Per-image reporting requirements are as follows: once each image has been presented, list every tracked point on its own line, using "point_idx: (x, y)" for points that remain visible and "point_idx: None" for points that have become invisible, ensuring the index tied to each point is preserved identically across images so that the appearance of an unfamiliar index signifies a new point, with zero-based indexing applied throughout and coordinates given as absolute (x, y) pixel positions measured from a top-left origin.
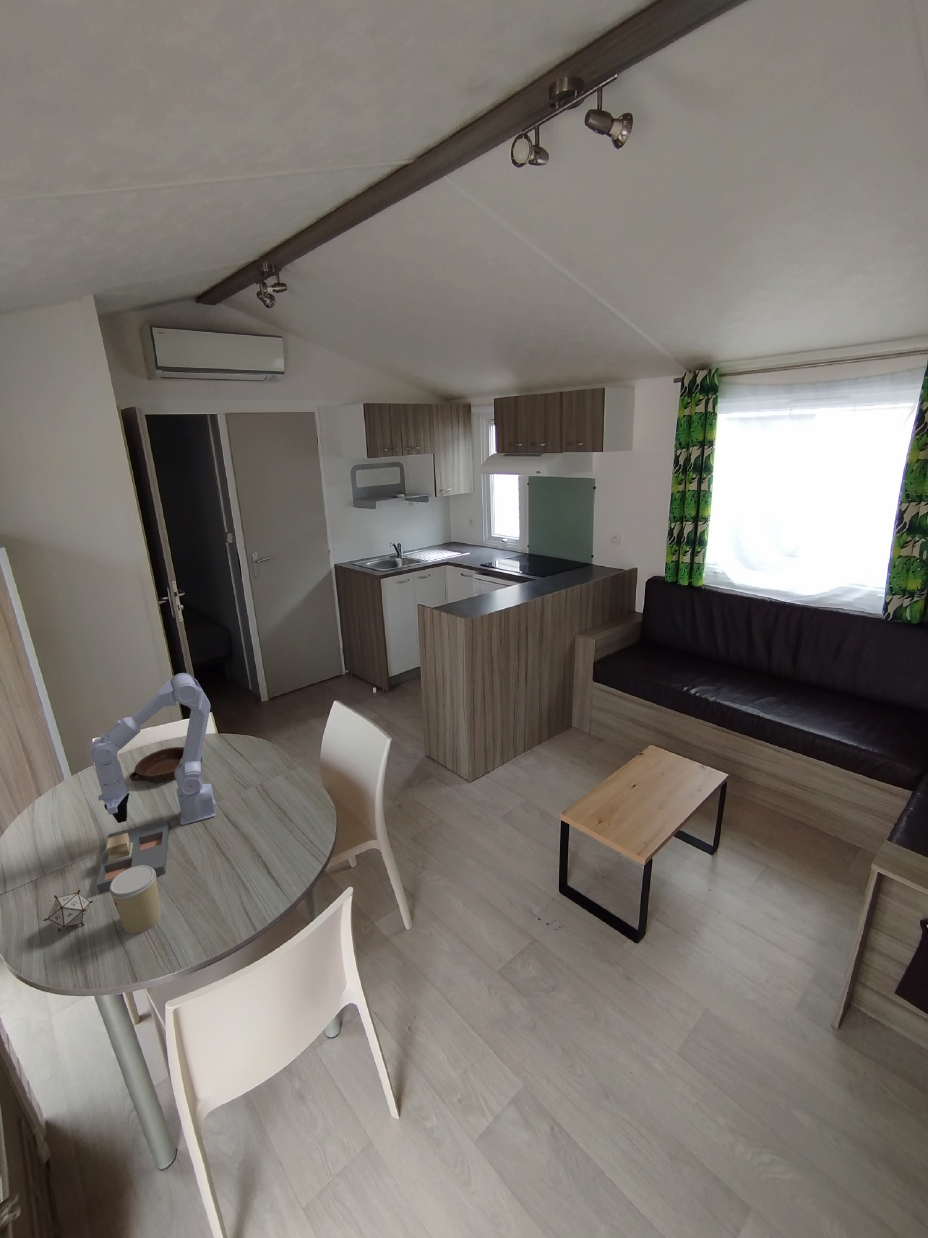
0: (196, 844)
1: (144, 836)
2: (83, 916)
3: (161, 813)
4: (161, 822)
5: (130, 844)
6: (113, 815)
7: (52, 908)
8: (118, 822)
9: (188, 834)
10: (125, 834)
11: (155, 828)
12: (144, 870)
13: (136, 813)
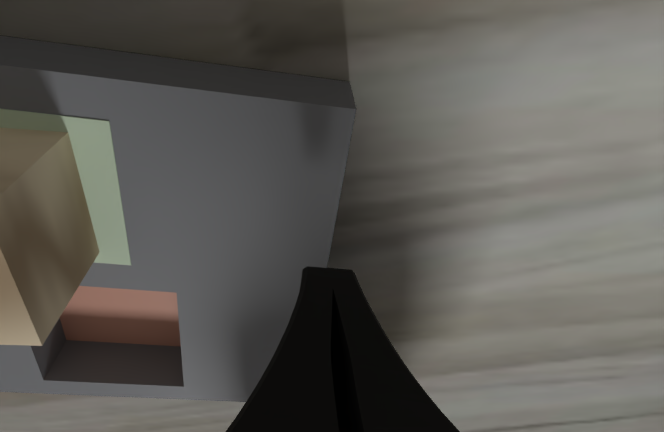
0: (85, 426)
1: (179, 315)
2: None
3: (459, 336)
4: None
5: (92, 257)
6: (277, 352)
7: None
8: (303, 275)
9: (182, 409)
10: (15, 335)
11: (237, 362)
12: None
13: (585, 236)
